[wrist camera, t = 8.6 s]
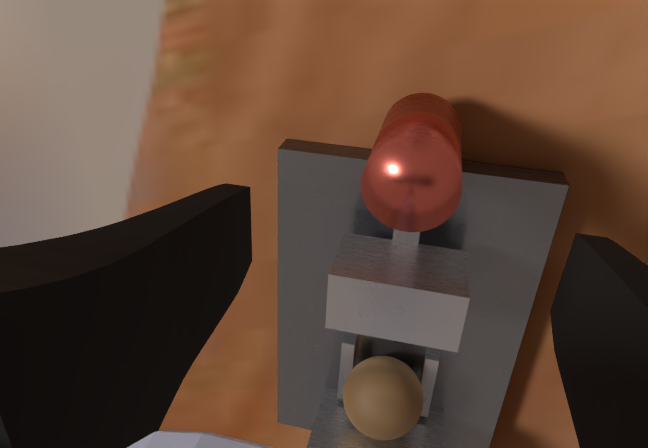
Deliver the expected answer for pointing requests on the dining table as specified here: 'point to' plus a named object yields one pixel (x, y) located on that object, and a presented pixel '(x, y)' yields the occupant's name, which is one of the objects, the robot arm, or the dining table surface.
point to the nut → (383, 398)
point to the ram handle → (406, 234)
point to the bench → (428, 363)
